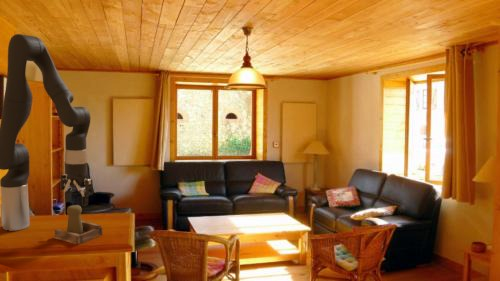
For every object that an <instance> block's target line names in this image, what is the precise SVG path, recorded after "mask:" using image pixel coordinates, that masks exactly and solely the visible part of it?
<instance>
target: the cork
mask: <svg viewBox="0 0 500 281" xmlns="http://www.w3.org/2000/svg"><path fill="white" fill-rule="evenodd" d="M81 206H82V205H79V204H75V205H73V204H72V205H69V206H67V208H66V213H67V215H68V217H67V227H66V231H68V232H72V233H76V234H83V233H84V232H83V226H82V221H83V220H82V215H81V214H82V211H83V209H82V207H81Z"/></svg>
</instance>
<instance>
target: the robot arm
mask: <svg viewBox="0 0 500 281" xmlns="http://www.w3.org/2000/svg"><path fill="white" fill-rule="evenodd" d="M28 62H33V63H34V64H35V65H36V66H37V68H38V69H39V71H40V72H41V75H42V84H43V88H44V90H45V93H46V94H47V95H48V97H49V99H50V100H51V101H52V103H53V104H54V106H55V110H56V112H57V116H58V118H59V121H60V122H61V123H62V124H63V125H64V126H66V127H68V128H72V130H71V131H70V132H68V133H66V135H65V143H64V144H65V152H64V172H65V173H62V174H60V182H59V183H60V185H59V188H60V191H63V192H64V201H65V202H66V203H70V202H72V189H76V190H77V192H79V193H80V194H81V206H82V207H86V206H88V205H89V197H90V196H92V195H93V194H94V188H93V183H94V182H93V178H87V177H86V175H87V173H88V154H87V137H88V133H89V128H90V125H91V113H90V111H89V110H88V108H86V107H84V106H73V105H72V103H73V101H74V99H75V98H74V94H73V93H72V91H71V90H70V89H69V87H68V85H67V84H66V83H65V82H64V80H63V79H62V77H61V75H60V74H59V72H58V69H57V68H56V65H55V63H54V61H53V59H52V57H51V55H50V53H49V51H48V48H47V46H46V45H45V43H44V42H43V40H42V39H41V38H40V37H37V36H33V35H27V34H21V33H17V34H14V35H13V36H11V38H10V40H9V43H8V47H7V73H6V74H7V75H6V81H5V82H6V84H5V90H4V96H3V103H2V113H1V118H0V170H2V171H5V170H6V171H7V172H6V173H5V174H4V175H3V176H2V177H1V178H0V199H1V201H0V202H1V203H0V220H1V222H0V223H1V227H2V229H3V230H4V231H7V230H9V232H10V231H12V232H14V231H21V230H24V229H27V228H29V227H30V224H31V223H30V206H29V204H30V203H29V187H28V186H29V185H28V184H29V183H28V179H29V178H30V152H29V149H28V148H27V146H26V145H24V144H23V143H20V142H19V143H17V139H18V135H19V133H20V132H21V130H22V129H23V127H24V125H25V124H26V122H28V119H29V117H30V116H31V110H32V105H33V93H32V90H31V87H30V85H29V83H28V79H27V76H26V69H27V63H28Z"/></svg>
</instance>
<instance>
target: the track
mask: <svg viewBox="0 0 500 281" xmlns="http://www.w3.org/2000/svg"><path fill="white" fill-rule="evenodd" d="M81 221H82V226H83V232H84V233H83V234H76V233H72V232H68V231H67V230H63V229H61V228H56V229H54V236H53V239H56V240H60V241H63V242H67V243H71V244H75V245H77V246H79V245H81V244H84V243H87V242H88V241H91V240H93V239H96V238H99V237H100V236H102V235H103V227H102V225H101V224H97V223H94V222H89V221H84V220H81Z"/></svg>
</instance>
